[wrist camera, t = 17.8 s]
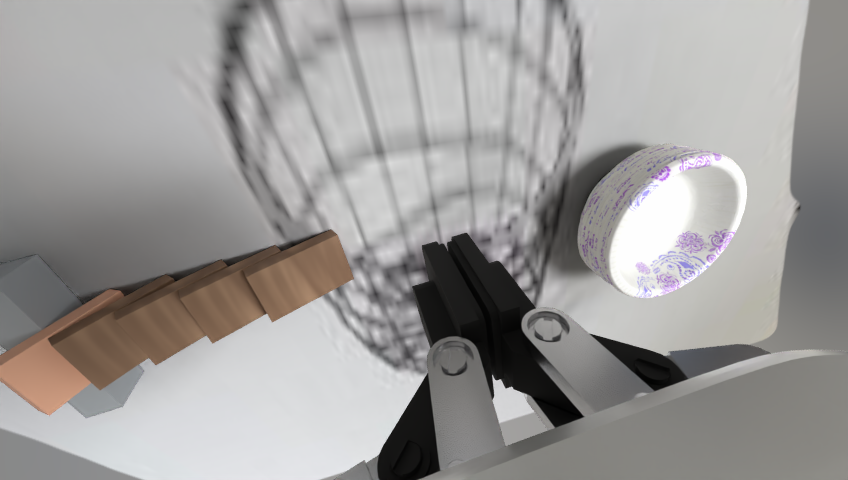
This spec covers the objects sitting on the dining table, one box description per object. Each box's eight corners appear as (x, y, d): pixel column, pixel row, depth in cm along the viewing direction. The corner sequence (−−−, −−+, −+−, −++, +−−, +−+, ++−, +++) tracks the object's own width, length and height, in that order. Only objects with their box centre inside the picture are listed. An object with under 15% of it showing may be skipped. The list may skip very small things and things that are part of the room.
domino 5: (337, 234, 30) (245, 277, 27) (353, 278, 32) (272, 322, 29) (331, 229, 31) (242, 269, 28) (347, 271, 34) (268, 313, 30)
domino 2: (172, 278, 28) (51, 346, 23) (203, 320, 31) (100, 390, 26) (165, 274, 29) (47, 338, 24) (195, 315, 32) (94, 382, 27)
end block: (37, 254, 26) (-7, 283, 23) (143, 371, 33) (122, 406, 30) (-6, 265, 26) (-57, 296, 22) (111, 380, 33) (86, 418, 29)
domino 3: (226, 264, 29) (115, 320, 25) (252, 307, 31) (155, 365, 27) (221, 259, 30) (114, 311, 26) (246, 301, 32) (153, 355, 28)
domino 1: (120, 290, 28) (-8, 370, 22) (155, 332, 30) (49, 415, 24) (109, 288, 29) (-19, 366, 22) (144, 330, 31) (38, 410, 25)
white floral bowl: (640, 104, 33) (720, 115, 26) (695, 189, 40) (770, 215, 34) (533, 221, 37) (580, 258, 30) (601, 280, 44) (652, 320, 37)
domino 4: (280, 250, 29) (179, 298, 26) (301, 294, 32) (212, 343, 28) (275, 245, 31) (178, 290, 27) (295, 287, 33) (209, 334, 29)
